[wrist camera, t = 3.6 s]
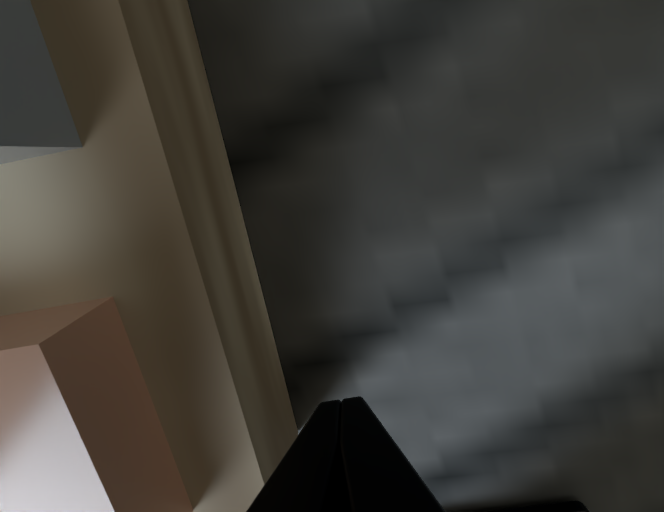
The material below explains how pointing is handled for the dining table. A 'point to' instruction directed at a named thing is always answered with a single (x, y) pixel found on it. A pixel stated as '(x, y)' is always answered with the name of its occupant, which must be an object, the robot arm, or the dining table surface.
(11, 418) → the terracotta tile
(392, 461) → the robot arm
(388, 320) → the dining table surface
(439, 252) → the dining table surface
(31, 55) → the slate tile
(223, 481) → the tan flat block
